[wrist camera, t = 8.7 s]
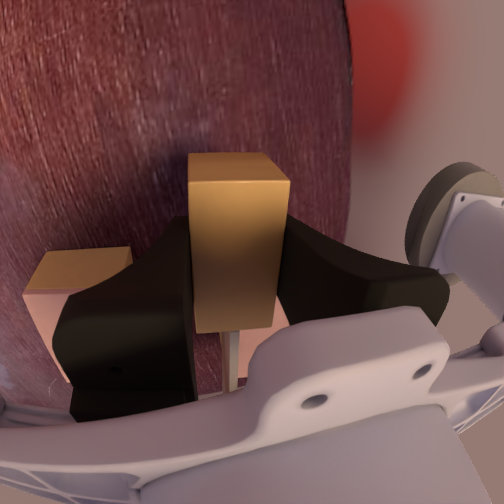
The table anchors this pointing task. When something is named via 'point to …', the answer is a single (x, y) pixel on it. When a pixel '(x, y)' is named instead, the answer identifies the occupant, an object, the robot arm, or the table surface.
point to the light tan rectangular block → (257, 338)
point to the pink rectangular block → (68, 283)
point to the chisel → (235, 245)
